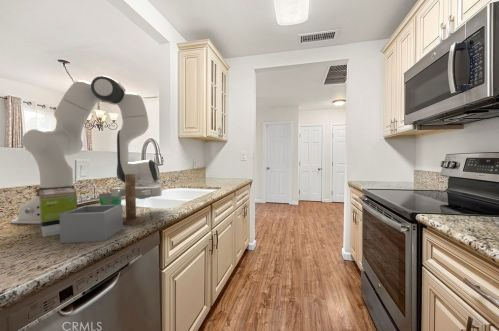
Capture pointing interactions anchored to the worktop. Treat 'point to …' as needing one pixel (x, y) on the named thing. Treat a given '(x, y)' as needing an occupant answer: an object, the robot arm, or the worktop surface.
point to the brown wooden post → (131, 202)
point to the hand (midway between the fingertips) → (130, 193)
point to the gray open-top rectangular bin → (90, 223)
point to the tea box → (55, 208)
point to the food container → (109, 199)
